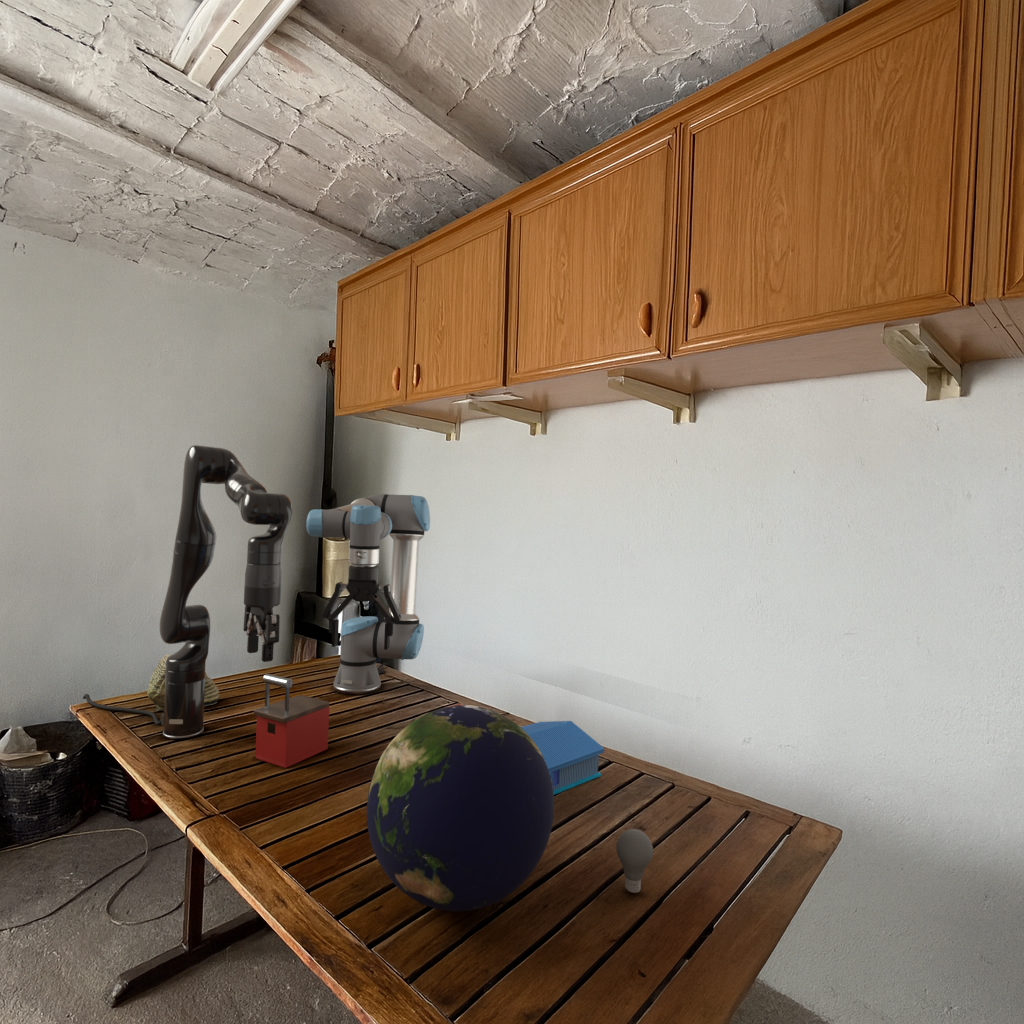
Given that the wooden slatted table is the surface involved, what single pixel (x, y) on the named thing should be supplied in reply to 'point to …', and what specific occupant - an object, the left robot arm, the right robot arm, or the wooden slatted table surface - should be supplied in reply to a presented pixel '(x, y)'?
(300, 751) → the chest
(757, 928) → the wooden slatted table surface
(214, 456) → the left robot arm
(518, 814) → the globe
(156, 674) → the fossil
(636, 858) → the light bulb
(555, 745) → the model building
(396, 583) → the right robot arm
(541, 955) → the wooden slatted table surface
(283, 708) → the lid
